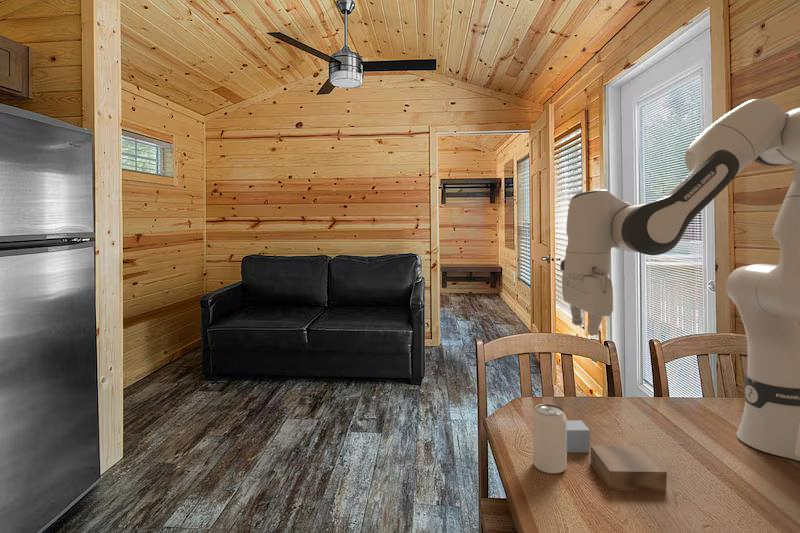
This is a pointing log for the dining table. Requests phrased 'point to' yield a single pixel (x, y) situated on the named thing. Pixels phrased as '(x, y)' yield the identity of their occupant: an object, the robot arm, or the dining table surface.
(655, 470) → the walnut block
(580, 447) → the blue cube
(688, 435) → the dining table surface
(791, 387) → the robot arm
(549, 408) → the can
